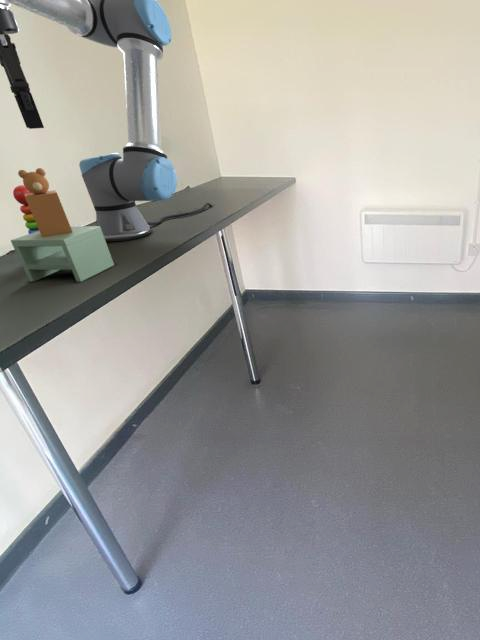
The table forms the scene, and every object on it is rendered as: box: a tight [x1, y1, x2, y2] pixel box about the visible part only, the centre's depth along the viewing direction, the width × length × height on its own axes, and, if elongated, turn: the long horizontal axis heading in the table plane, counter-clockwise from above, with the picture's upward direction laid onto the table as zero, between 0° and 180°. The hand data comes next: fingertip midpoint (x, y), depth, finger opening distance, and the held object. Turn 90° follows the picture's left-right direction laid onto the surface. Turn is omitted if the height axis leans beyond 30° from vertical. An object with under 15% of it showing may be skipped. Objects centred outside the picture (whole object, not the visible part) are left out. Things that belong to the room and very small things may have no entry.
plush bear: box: [17, 167, 72, 237], centre depth 113 cm, size 6×6×14 cm
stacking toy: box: [12, 184, 39, 234], centre depth 133 cm, size 8×8×19 cm
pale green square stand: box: [10, 225, 115, 283], centre depth 120 cm, size 13×14×10 cm
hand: (35, 128), depth 109 cm, fingers open, 13 cm apart
